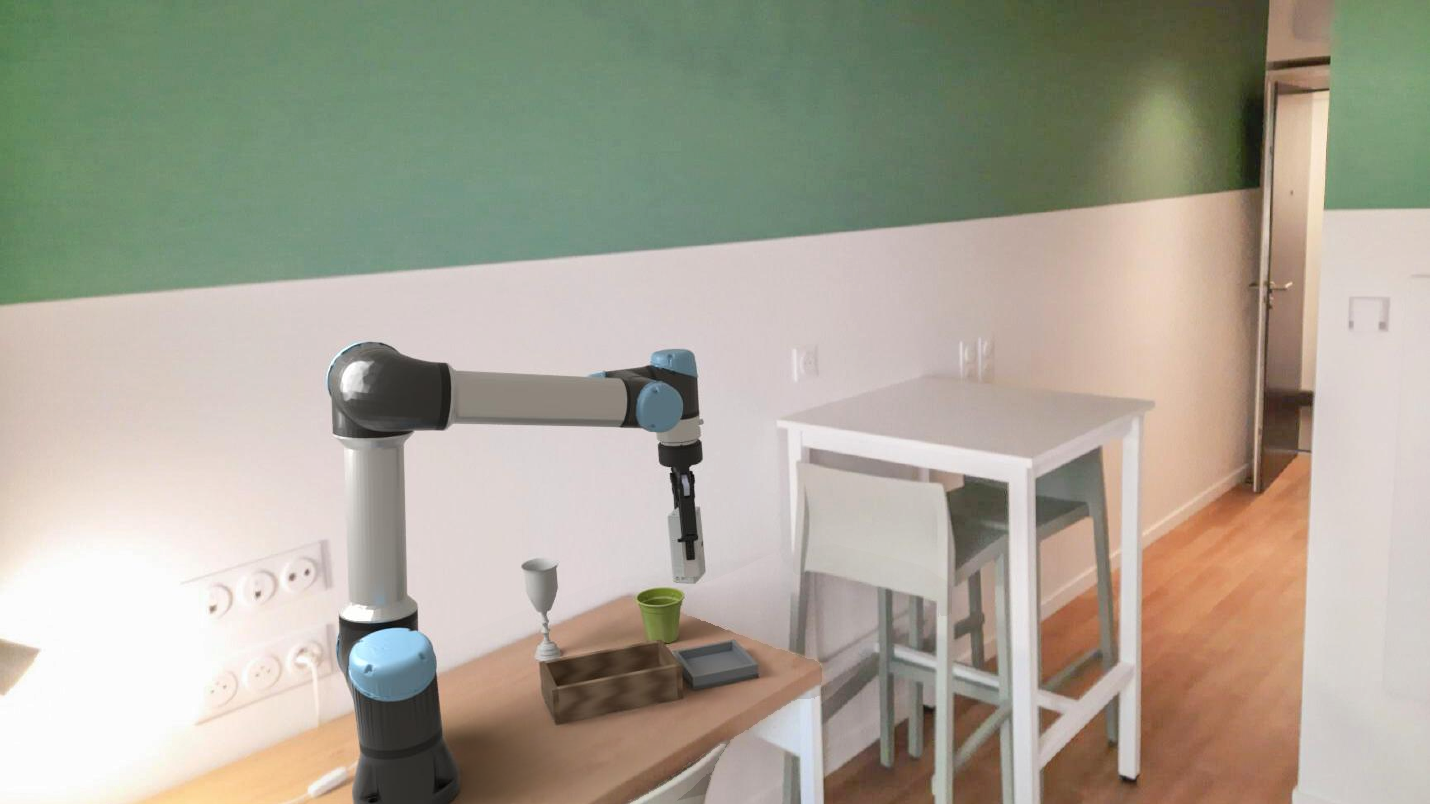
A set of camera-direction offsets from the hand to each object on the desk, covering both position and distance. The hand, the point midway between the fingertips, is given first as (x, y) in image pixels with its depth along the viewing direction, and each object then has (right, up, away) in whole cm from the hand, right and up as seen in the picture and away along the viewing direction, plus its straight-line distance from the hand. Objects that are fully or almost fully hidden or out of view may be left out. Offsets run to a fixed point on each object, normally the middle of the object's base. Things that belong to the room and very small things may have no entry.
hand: (688, 568), depth 188 cm
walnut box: (-13, -22, -3) cm, 25 cm away
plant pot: (-6, -17, +21) cm, 27 cm away
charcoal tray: (+5, -19, +5) cm, 20 cm away
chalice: (-27, -19, +16) cm, 36 cm away
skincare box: (0, -2, 0) cm, 2 cm away
